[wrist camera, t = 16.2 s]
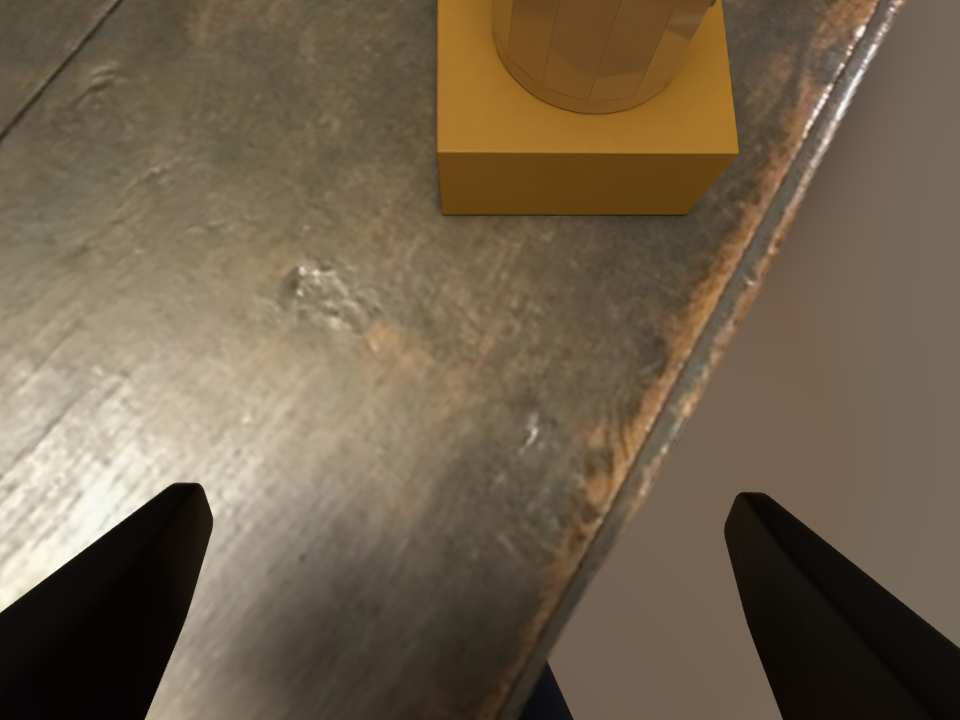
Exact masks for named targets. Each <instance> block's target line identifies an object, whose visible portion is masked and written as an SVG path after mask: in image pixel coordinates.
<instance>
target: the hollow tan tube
mask: <svg viewBox="0 0 960 720" xmlns="http://www.w3.org/2000/svg"><path fill="white" fill-rule="evenodd" d="M716 1H717V0H493V3H492V19H493V35H494V41H495V44H496V47H497V51H498V53H499V55H500V57H501V59H502V61H503V63H504V65H505V66H506V68H507V69H508V71H509V72H510V74H511V75H512V76H513V77H514V78H515V79H516V81H517V82H518V83H519V84H521V85H522V86H523V87H524V88H525V89H526V90H527V91H529V92H530V93H532V94H533V95H534V96H536V97H537V98H539V99H541V100H543V101H545V102H547V103H548V104H551V105H554V106H556V107H559V108H561V109H565V110H569V111H573V112H579V113H586V114H604V113H613V112H618V111H622V110H626V109H629V108H632V107H635V106H637V105H639V104H641V103H643V102H645V101H647V100H649V99H650V98H652V97H653V96H655V95H656V94H658V93H659V92H660V91H661V90H662V89H663V88H664V87H665V86H667V85H668V83H669V82H670V81H671V80H672V78H673V77H674V76H675V74H676V73H677V71H678V69H679V68H680V66H681V64H682V62H683V60H684V58H685V56H686V55H687V53H688V51H689V50H690V48H691V47H692V45H693V44H694V42H695V40H696V38H697V36H698V35H699V33H700V31H701V29H702V27H703V25H704V23H705V21H706V19H707V18H708V16H709V14H710V12H711V10H712V8H713V6H714V4H715V2H716Z"/></svg>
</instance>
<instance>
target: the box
mask: <svg viewBox="0 0 960 720" xmlns="http://www.w3.org/2000/svg"><path fill="white" fill-rule="evenodd" d="M492 3H493V0H437V160H438V172H439V183H440V195H441V206H442V214H488V215H686V214H688V212H689V211H690V210H691V209H692V208H693V207H694V205H695V204H696V203H697V202H698V201H699V199H700V198H701V197H702V196H703V195H704V194H705V192H706V191H707V190H708V189H709V188H710V187H711V185H712V184H713V183H714V182H715V181H716V179H717V178H718V177H719V176H720V175H721V174H722V172H723V171H724V170H725V169H726V168H727V167H728V165H729V164H730V163H731V162H732V161H733V160H734V158H735V157H736V156H737V155H738V153H739V149H738V140H737V131H736V123H735V114H734V105H733V96H732V88H731V79H730V70H729V62H728V53H727V44H726V35H725V27H724V18H723V9H722V1H721V0H717V1H716V2H715V4H714V6H713V8H712V10H711V12H710V14H709V16H708V18H707V19H706V21H705V23H704V25H703V27H702V29H701V31H700V33H699V35H698V36H697V38H696V40H695V42H694V44H693V45H692V47H691V48H690V50H689V51H688V53H687V55H686V56H685V58H684V60H683V62H682V64H681V66H680V68H679V69H678V71H677V73H676V74H675V76H674V77H673V78H672V80H671V81H670V82H669V83H668V85H667V86H665V87H664V88H663V89H662V90H661V91H660V92H659V93H658V94H656V95H655V96H653V97H652V98H650V99H649V100H647V101H645V102H643V103H641V104H639V105H637V106H635V107H632V108H629V109H626V110H622V111H618V112H613V113H604V114H586V113H579V112H573V111H569V110H565V109H561V108H559V107H556V106H554V105H551V104H548V103H547V102H545V101H543V100H541V99H539V98H537V97H536V96H534V95H533V94H532V93H530V92H529V91H527V90H526V89H525V88H524V87H523V86H522V85H521V84H519V83H518V82H517V81H516V79H515V78H514V77H513V76H512V75H511V74H510V72H509V71H508V69H507V68H506V66H505V65H504V63H503V61H502V59H501V57H500V55H499V53H498V51H497V47H496V44H495V41H494V35H493V19H492Z"/></svg>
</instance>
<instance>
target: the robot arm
mask: <svg viewBox="0 0 960 720" xmlns="http://www.w3.org/2000/svg"><path fill="white" fill-rule="evenodd" d="M212 528H213V516H212V512H211V509H210V506H209V503H208V500H207V497H206V494H205V491H204V489H203V487H202V486H201V485H200V484H199V483H174V484H172V485H170V486H168V487H167V488H166V489H164V490H163V491H162V492H160V493H159V494H158V495H156V496H155V497H154V498H152V499H151V500H150V501H148V502H147V503H146V504H144V505H143V506H142V507H140V508H139V509H138V510H136V511H135V512H134V513H132V514H131V515H130V516H128V517H127V518H126V519H124V520H123V521H122V522H120V523H119V524H118V525H116V526H115V527H114V528H112V529H111V530H110V531H109V532H107V533H106V534H105V535H103V536H102V537H101V538H99V539H98V540H97V541H95V542H94V543H93V544H91V545H90V546H89V547H87V548H86V549H85V550H83V551H82V552H81V553H79V554H78V555H77V556H75V557H74V558H73V559H71V560H70V561H69V562H67V563H66V564H65V565H63V566H62V567H61V568H59V569H58V570H57V571H55V572H54V573H53V574H51V575H50V576H49V577H47V578H46V579H45V580H43V581H42V582H41V583H39V584H38V585H37V586H35V587H34V588H33V589H31V590H30V591H29V592H27V593H26V594H25V595H23V596H22V597H21V598H19V599H18V600H17V601H15V602H14V603H13V604H11V605H10V606H9V607H7V608H6V609H5V610H3V611H2V612H1V613H0V720H145V718H146V715H147V713H148V710H149V708H150V705H151V703H152V701H153V698H154V696H155V693H156V691H157V688H158V686H159V684H160V681H161V679H162V676H163V674H164V672H165V669H166V667H167V664H168V662H169V659H170V657H171V655H172V652H173V650H174V647H175V645H176V642H177V640H178V638H179V635H180V633H181V630H182V627H183V625H184V622H185V620H186V617H187V614H188V611H189V607H190V604H191V601H192V598H193V594H194V591H195V587H196V584H197V580H198V577H199V574H200V570H201V567H202V563H203V560H204V556H205V553H206V549H207V546H208V543H209V539H210V536H211V532H212ZM724 535H725V540H726V544H727V548H728V552H729V555H730V560H731V564H732V567H733V571H734V575H735V579H736V583H737V587H738V591H739V594H740V598H741V602H742V606H743V610H744V613H745V617H746V620H747V624H748V627H749V629H750V632H751V635H752V638H753V641H754V643H755V646H756V649H757V652H758V654H759V657H760V660H761V662H762V665H763V668H764V670H765V673H766V676H767V678H768V681H769V684H770V686H771V689H772V692H773V694H774V697H775V699H776V702H777V705H778V708H779V710H780V713H781V716H782V718H783V720H960V648H959V647H957V646H956V645H955V644H954V643H952V642H951V641H950V640H949V639H947V638H946V637H945V636H944V635H942V634H941V633H940V632H939V631H937V630H936V629H935V628H934V627H932V626H931V625H930V624H929V623H927V622H926V621H925V620H923V619H922V618H921V617H920V616H919V615H917V614H916V613H915V612H913V611H912V610H911V609H910V608H909V607H907V606H906V605H905V604H904V603H902V602H901V601H900V600H898V599H897V598H896V597H895V596H894V595H892V594H891V593H890V592H889V591H887V590H886V589H885V588H884V587H882V586H881V585H880V584H878V583H877V582H876V581H875V580H873V579H872V578H871V577H870V576H869V575H867V574H866V573H865V572H863V571H862V570H861V569H860V568H858V567H857V566H856V565H855V564H853V563H852V562H851V561H850V560H848V559H847V558H846V557H845V556H843V555H842V554H841V553H840V552H838V551H837V550H836V549H835V548H833V547H832V546H831V545H830V544H828V543H827V542H826V541H824V540H823V539H822V538H821V537H819V536H818V535H817V534H816V533H814V532H813V531H812V530H811V529H810V528H808V527H807V526H806V525H805V524H803V523H802V522H801V521H800V520H798V519H797V518H796V517H794V516H793V515H792V514H791V513H790V512H788V511H787V510H785V508H783V507H782V506H781V505H780V504H778V503H777V502H776V501H775V500H773V499H772V498H771V497H769V496H768V495H766V494H764V493H761V492H741V493H739V494H738V495H737V496H736V498H735V500H734V503H733V505H732V508H731V510H730V513H729V515H728V518H727V520H726V523H725V527H724Z"/></svg>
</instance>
